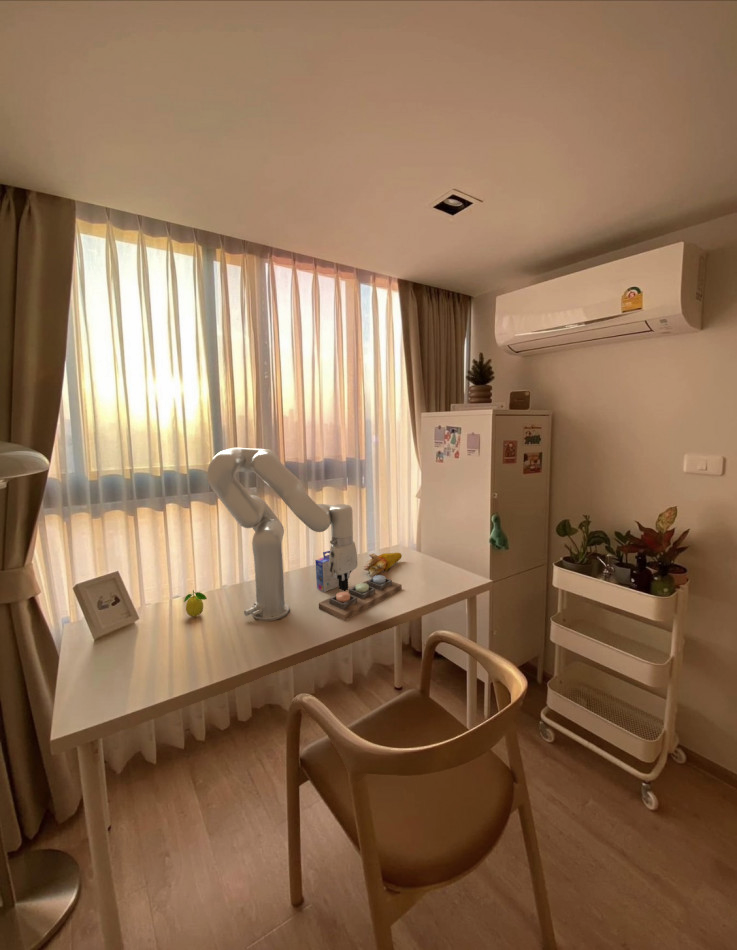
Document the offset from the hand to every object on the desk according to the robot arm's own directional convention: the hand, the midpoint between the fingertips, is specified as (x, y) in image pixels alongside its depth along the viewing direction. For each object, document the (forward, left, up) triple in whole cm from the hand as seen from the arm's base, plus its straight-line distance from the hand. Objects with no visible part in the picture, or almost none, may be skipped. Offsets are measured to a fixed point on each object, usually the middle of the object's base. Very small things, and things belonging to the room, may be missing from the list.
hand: (343, 589), depth 145 cm
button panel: (+10, 0, -7) cm, 12 cm away
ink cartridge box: (+9, +17, -7) cm, 21 cm away
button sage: (+10, 0, -4) cm, 11 cm away
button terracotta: (0, 0, -4) cm, 4 cm away
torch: (+37, +11, -8) cm, 39 cm away
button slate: (+20, 0, -4) cm, 20 cm away
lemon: (-38, +34, -7) cm, 52 cm away
